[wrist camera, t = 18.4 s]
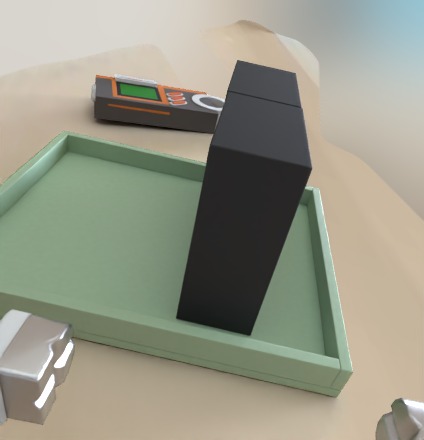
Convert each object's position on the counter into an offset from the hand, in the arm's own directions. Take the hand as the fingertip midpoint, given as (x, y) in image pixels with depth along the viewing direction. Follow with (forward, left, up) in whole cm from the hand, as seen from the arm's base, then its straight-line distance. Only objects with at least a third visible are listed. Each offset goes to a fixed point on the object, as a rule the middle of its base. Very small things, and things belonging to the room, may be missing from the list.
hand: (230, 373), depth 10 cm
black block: (0, +11, -8) cm, 14 cm away
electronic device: (-9, +36, -9) cm, 38 cm away
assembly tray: (-4, +14, -8) cm, 17 cm away
